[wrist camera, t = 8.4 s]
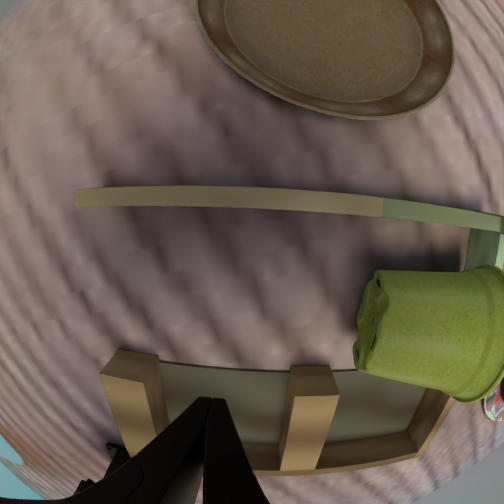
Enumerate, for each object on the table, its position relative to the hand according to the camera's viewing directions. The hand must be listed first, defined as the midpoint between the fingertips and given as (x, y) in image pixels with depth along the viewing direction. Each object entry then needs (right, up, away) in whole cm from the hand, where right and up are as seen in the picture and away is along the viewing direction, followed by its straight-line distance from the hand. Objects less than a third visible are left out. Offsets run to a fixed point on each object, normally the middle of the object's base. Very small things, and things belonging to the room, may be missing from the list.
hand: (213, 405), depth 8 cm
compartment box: (+5, -2, +11) cm, 13 cm away
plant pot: (+8, +1, +7) cm, 11 cm away
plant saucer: (+7, +21, +6) cm, 23 cm away
